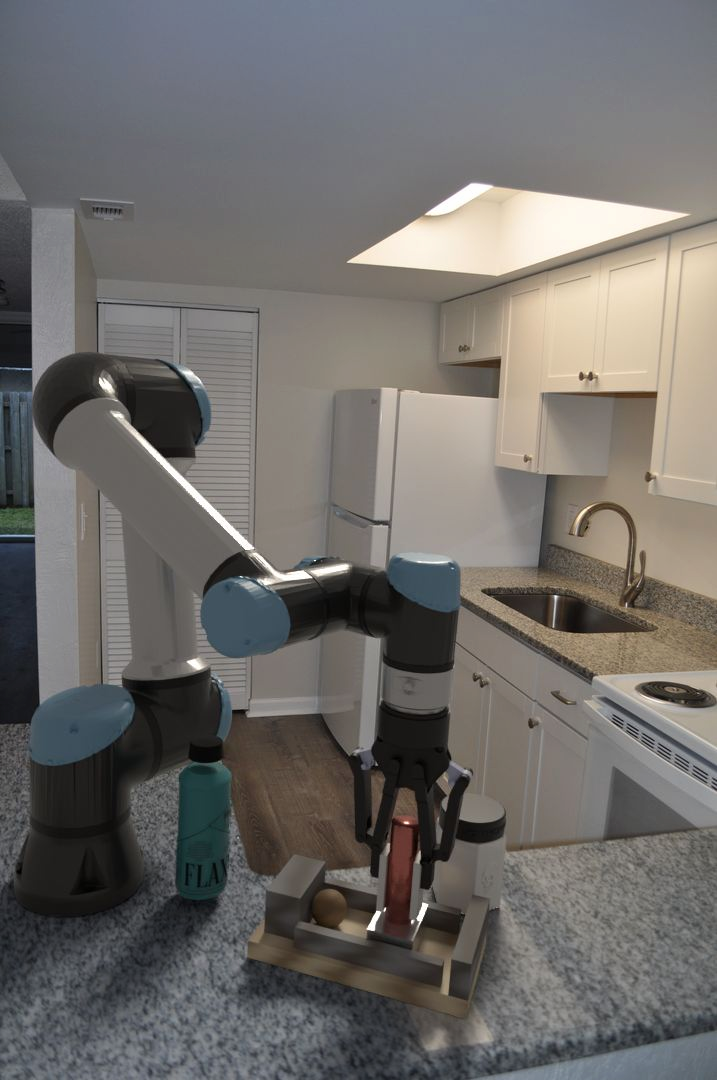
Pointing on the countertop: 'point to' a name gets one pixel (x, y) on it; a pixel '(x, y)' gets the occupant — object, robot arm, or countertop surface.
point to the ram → (400, 890)
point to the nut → (329, 908)
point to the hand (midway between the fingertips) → (399, 908)
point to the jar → (472, 854)
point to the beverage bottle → (203, 821)
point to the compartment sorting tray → (370, 942)
